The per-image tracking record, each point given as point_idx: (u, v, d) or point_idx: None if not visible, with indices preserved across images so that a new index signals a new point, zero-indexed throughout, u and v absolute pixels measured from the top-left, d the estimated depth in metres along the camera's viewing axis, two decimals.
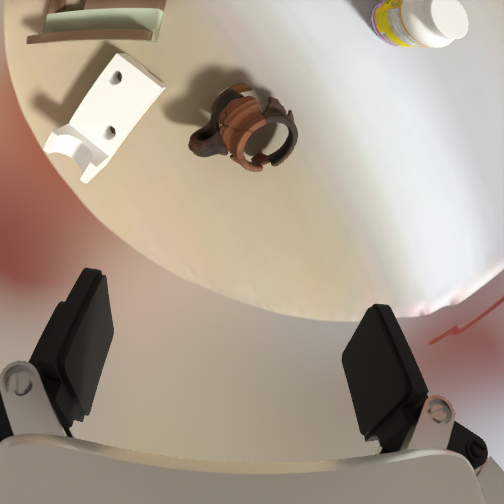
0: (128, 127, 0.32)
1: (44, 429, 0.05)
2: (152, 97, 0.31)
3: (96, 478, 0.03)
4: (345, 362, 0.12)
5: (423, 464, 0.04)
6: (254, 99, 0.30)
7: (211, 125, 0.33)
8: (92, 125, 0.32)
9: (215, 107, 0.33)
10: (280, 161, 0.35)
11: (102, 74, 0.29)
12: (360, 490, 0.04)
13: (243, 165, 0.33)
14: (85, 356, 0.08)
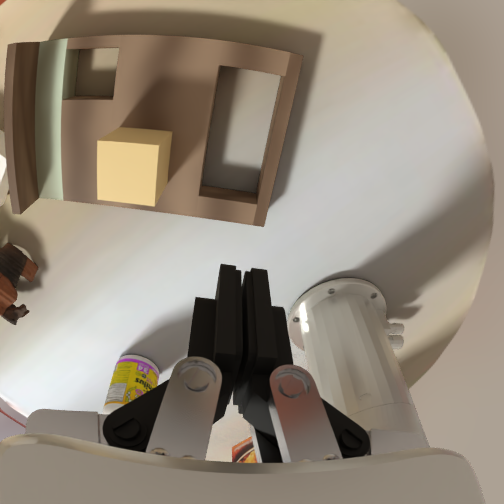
0: None
1: (191, 431, 0.06)
2: None
3: (96, 478, 0.03)
4: None
5: (423, 464, 0.04)
6: (14, 299, 0.29)
7: None
8: None
9: (7, 254, 0.29)
10: None
11: None
12: (359, 489, 0.04)
13: None
14: None
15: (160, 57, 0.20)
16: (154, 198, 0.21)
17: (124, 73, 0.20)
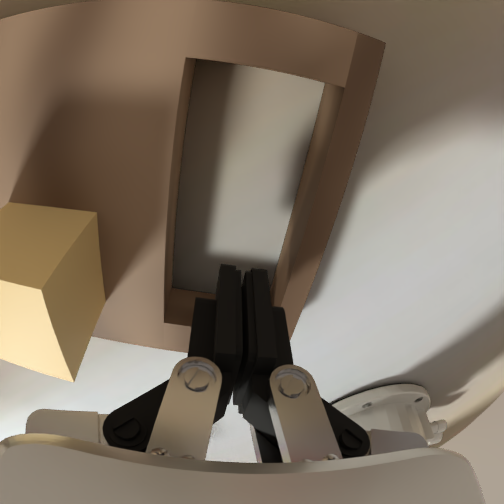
0: None
1: (191, 431, 0.06)
2: None
3: (96, 478, 0.03)
4: None
5: (423, 464, 0.04)
6: None
7: None
8: None
9: None
10: None
11: None
12: (360, 490, 0.04)
13: None
14: None
15: (59, 53, 0.07)
16: (69, 372, 0.09)
17: (0, 96, 0.08)
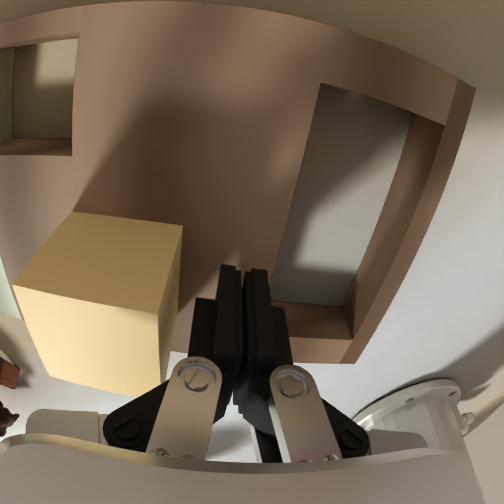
0: None
1: (191, 431, 0.06)
2: None
3: (96, 478, 0.03)
4: None
5: (423, 464, 0.04)
6: None
7: None
8: None
9: None
10: None
11: None
12: (359, 489, 0.04)
13: None
14: None
15: (177, 55, 0.08)
16: None
17: (91, 94, 0.08)
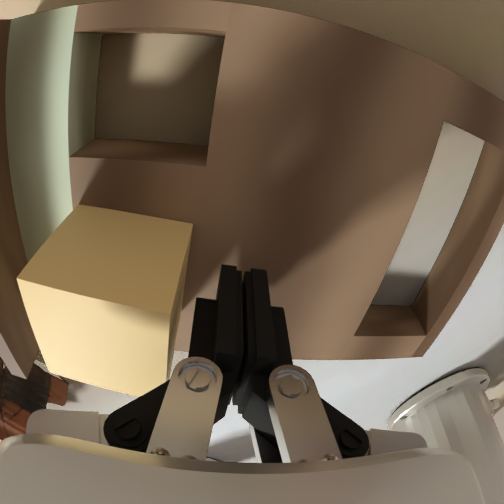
0: None
1: (192, 431, 0.06)
2: None
3: (96, 478, 0.03)
4: None
5: (423, 464, 0.04)
6: None
7: None
8: None
9: None
10: None
11: None
12: (359, 489, 0.04)
13: None
14: None
15: (335, 78, 0.09)
16: None
17: (238, 103, 0.09)
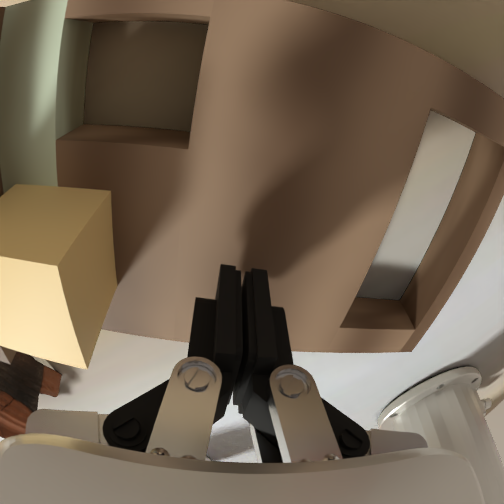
0: None
1: (191, 431, 0.06)
2: None
3: (96, 478, 0.03)
4: None
5: (423, 464, 0.04)
6: None
7: None
8: None
9: (12, 365, 0.18)
10: None
11: None
12: (360, 489, 0.04)
13: None
14: None
15: (318, 63, 0.08)
16: (82, 358, 0.09)
17: (221, 86, 0.09)
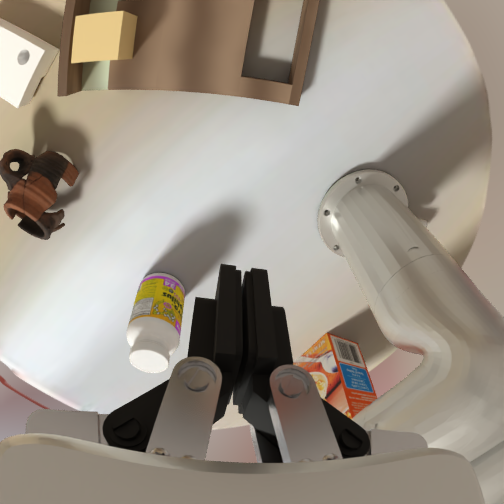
0: None
1: (191, 431, 0.06)
2: (9, 101, 0.24)
3: (96, 478, 0.03)
4: None
5: (423, 464, 0.04)
6: (53, 201, 0.29)
7: (29, 163, 0.28)
8: None
9: (47, 158, 0.30)
10: (23, 229, 0.32)
11: (26, 42, 0.20)
12: (359, 490, 0.04)
13: (4, 207, 0.28)
14: None
15: None
16: (117, 53, 0.20)
17: None
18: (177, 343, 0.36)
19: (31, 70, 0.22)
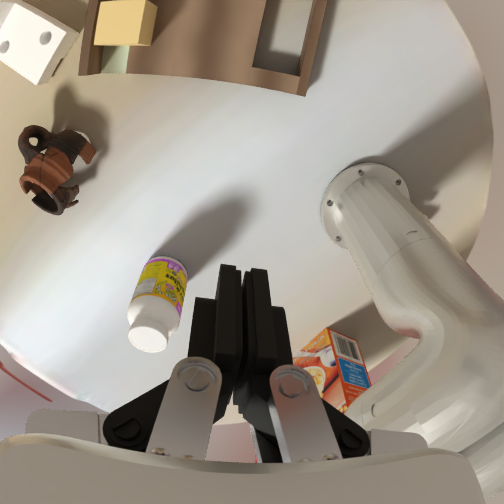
0: (7, 63, 0.23)
1: (191, 431, 0.06)
2: (29, 78, 0.25)
3: (96, 478, 0.03)
4: None
5: (423, 464, 0.04)
6: (69, 176, 0.31)
7: (48, 139, 0.30)
8: (10, 28, 0.21)
9: (65, 136, 0.31)
10: None
11: (49, 24, 0.22)
12: (360, 490, 0.04)
13: (20, 181, 0.29)
14: None
15: None
16: (138, 37, 0.22)
17: None
18: (177, 324, 0.37)
19: (52, 50, 0.24)
